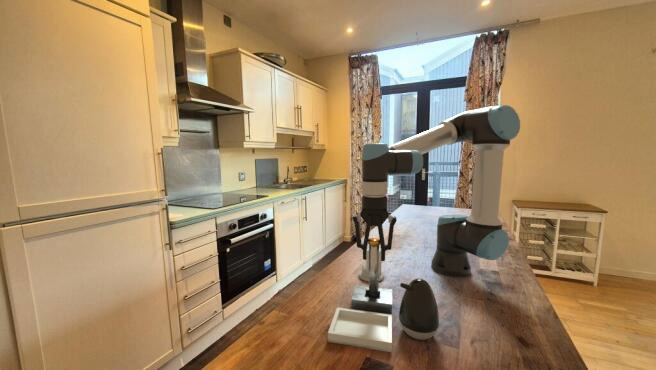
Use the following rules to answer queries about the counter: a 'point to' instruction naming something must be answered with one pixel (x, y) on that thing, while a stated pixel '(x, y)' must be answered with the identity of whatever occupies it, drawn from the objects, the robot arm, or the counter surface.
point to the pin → (373, 265)
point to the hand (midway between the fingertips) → (373, 269)
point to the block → (372, 300)
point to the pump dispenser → (419, 310)
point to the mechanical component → (365, 274)
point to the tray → (361, 329)
